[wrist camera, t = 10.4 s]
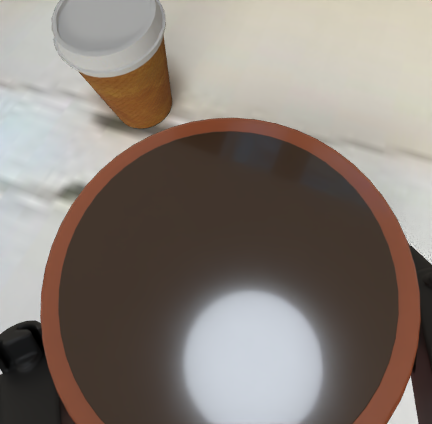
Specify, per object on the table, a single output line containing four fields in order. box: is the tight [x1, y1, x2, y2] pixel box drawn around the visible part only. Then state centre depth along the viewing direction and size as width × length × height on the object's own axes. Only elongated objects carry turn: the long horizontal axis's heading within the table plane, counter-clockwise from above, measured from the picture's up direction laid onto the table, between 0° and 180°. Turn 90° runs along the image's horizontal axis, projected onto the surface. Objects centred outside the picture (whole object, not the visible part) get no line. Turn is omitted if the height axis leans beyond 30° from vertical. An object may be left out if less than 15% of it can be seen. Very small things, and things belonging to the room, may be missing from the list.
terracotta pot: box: [40, 118, 421, 424], centre depth 12 cm, size 8×8×10 cm
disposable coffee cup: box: [52, 0, 172, 128], centre depth 34 cm, size 10×10×12 cm
